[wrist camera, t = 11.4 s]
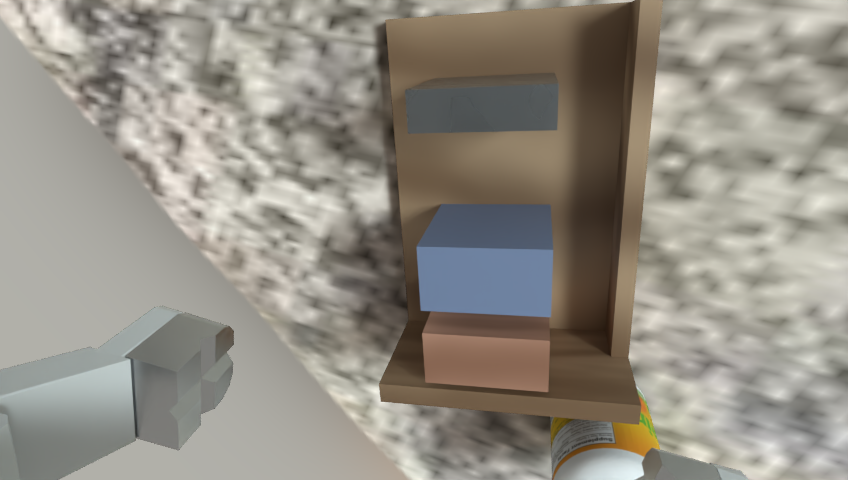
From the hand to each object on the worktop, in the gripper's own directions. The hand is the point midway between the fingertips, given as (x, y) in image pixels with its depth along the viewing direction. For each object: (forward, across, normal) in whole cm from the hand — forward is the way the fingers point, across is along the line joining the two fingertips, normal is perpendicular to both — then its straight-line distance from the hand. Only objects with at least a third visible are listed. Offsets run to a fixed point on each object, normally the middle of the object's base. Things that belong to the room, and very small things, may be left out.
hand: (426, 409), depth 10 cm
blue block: (+18, -1, +3) cm, 18 cm away
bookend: (+17, +1, -4) cm, 18 cm away
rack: (+18, -1, +1) cm, 18 cm away
